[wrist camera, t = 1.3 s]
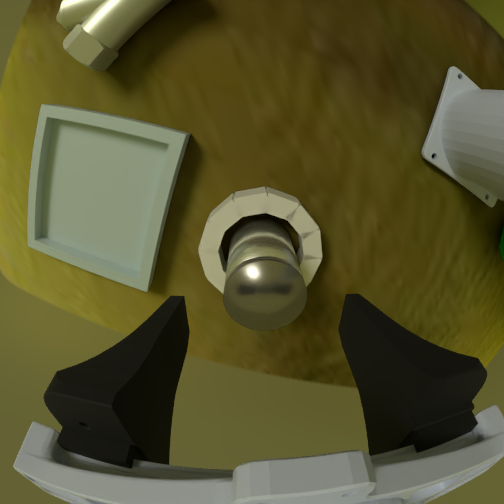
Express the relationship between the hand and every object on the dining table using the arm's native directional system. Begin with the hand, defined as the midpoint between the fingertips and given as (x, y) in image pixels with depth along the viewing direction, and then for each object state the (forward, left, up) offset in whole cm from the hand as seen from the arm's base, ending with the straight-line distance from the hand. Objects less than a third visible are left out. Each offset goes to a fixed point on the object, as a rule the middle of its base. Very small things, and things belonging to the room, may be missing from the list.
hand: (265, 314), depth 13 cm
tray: (+12, 0, -8) cm, 14 cm away
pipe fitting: (+14, -13, -8) cm, 21 cm away
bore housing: (0, 0, -8) cm, 8 cm away
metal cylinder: (0, 0, -8) cm, 8 cm away
